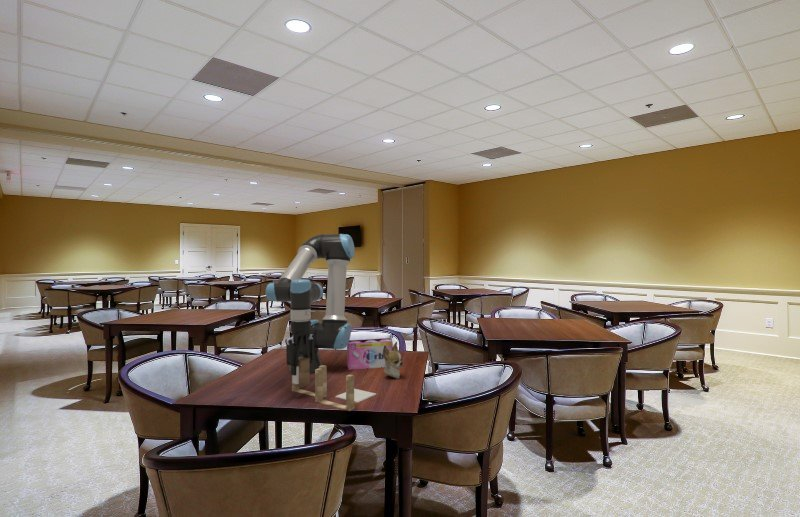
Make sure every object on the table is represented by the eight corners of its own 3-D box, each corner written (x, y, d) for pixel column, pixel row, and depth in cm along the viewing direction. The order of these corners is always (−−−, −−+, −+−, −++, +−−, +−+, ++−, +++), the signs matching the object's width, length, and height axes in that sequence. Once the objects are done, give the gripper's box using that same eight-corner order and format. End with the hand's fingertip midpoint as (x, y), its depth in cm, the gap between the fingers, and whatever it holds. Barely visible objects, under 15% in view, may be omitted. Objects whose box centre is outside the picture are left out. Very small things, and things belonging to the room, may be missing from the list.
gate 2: (314, 402, 155) (314, 369, 155) (319, 400, 157) (319, 368, 157) (350, 411, 146) (349, 376, 146) (354, 409, 148) (354, 375, 147)
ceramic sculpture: (395, 382, 179) (395, 347, 179) (378, 379, 183) (378, 344, 183) (408, 376, 188) (408, 342, 188) (392, 373, 192) (392, 340, 192)
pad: (335, 397, 160) (335, 396, 160) (354, 390, 169) (354, 388, 169) (357, 403, 154) (357, 401, 154) (376, 395, 163) (376, 393, 163)
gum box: (391, 363, 211) (391, 337, 211) (394, 366, 204) (394, 340, 204) (346, 366, 206) (346, 340, 206) (348, 370, 199) (348, 343, 199)
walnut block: (292, 385, 160) (292, 358, 160) (301, 382, 164) (301, 356, 164) (300, 387, 157) (300, 360, 157) (309, 384, 161) (309, 358, 161)
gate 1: (291, 391, 168) (291, 360, 168) (296, 389, 170) (296, 359, 170) (322, 399, 158) (322, 367, 158) (327, 397, 160) (326, 365, 160)
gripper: (289, 324, 151) (289, 389, 151) (324, 318, 166) (324, 377, 166) (275, 322, 155) (275, 386, 155) (310, 316, 170) (310, 374, 170)
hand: (300, 381), depth 161 cm, fingers closed on walnut block, 4 cm apart
